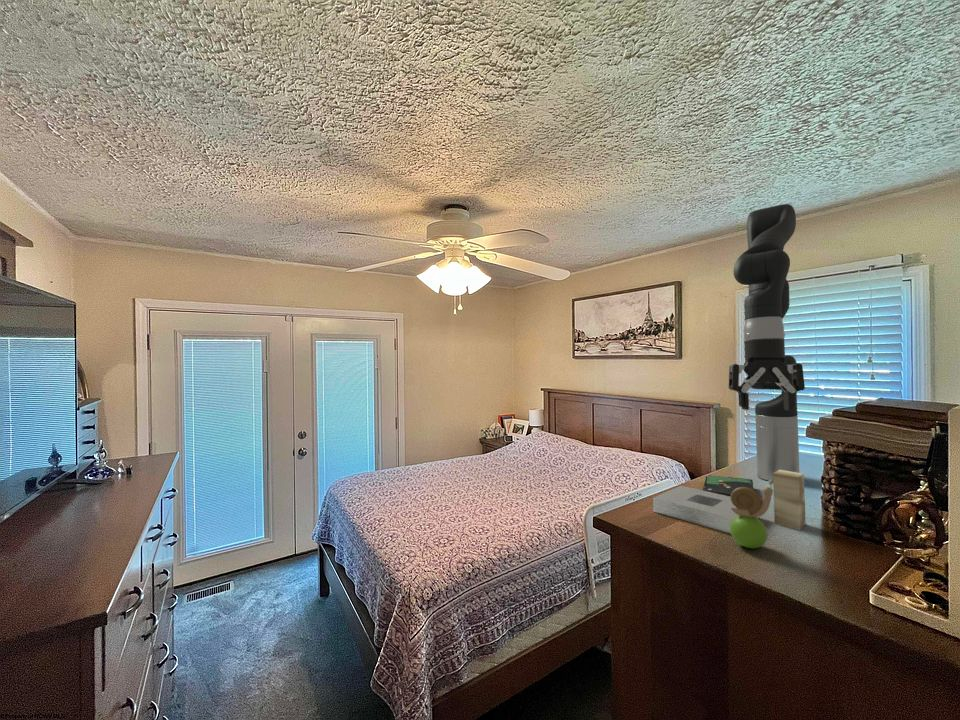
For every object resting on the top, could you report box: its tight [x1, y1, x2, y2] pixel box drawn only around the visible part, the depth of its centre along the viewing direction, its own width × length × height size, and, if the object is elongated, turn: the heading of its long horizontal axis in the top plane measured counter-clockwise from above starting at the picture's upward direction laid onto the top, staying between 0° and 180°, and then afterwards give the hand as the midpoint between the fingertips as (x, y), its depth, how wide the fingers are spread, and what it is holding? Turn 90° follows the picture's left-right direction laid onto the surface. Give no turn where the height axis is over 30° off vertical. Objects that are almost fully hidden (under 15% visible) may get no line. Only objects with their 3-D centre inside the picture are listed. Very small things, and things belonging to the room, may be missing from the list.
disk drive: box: [702, 474, 755, 496], centre depth 98 cm, size 10×3×15 cm
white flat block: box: [652, 485, 760, 535], centre depth 85 cm, size 13×16×3 cm
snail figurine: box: [730, 480, 774, 549], centre depth 70 cm, size 5×6×12 cm
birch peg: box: [772, 470, 806, 531], centre depth 79 cm, size 4×4×10 cm
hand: (766, 409), depth 91 cm, fingers open, 8 cm apart
